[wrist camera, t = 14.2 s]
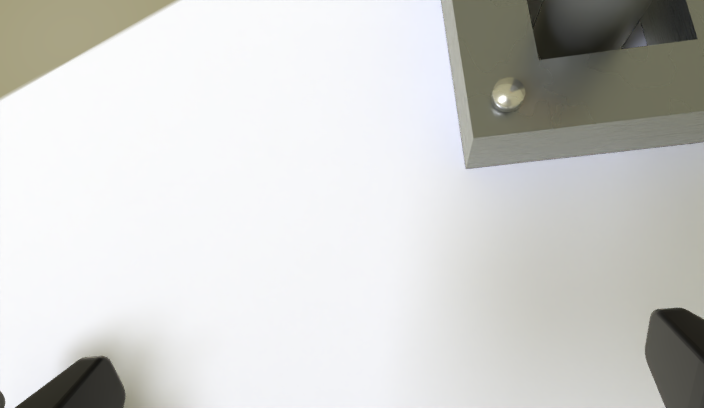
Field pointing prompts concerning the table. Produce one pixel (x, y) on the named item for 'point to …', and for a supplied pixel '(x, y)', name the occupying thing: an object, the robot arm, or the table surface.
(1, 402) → the valve
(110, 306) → the table surface
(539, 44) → the plug
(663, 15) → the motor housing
